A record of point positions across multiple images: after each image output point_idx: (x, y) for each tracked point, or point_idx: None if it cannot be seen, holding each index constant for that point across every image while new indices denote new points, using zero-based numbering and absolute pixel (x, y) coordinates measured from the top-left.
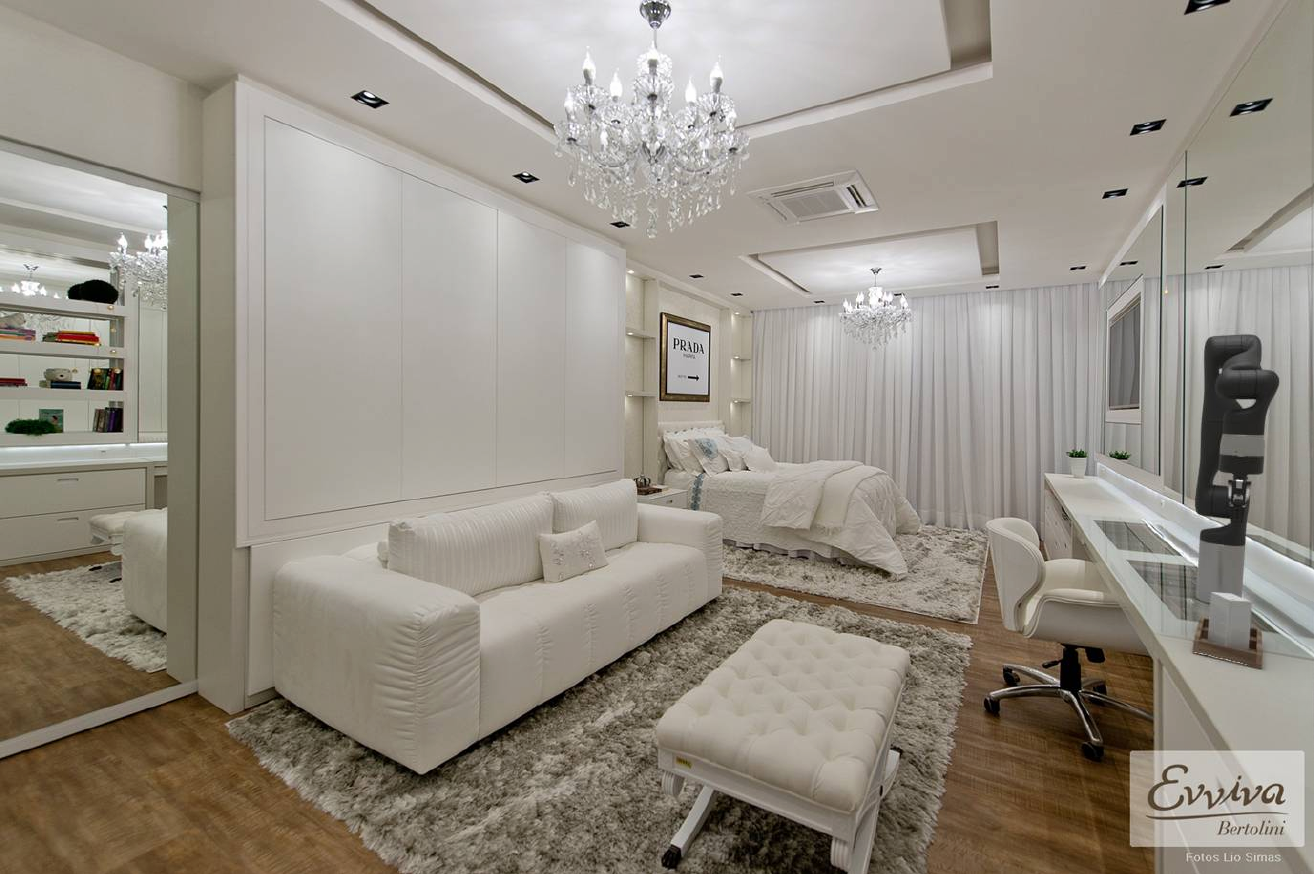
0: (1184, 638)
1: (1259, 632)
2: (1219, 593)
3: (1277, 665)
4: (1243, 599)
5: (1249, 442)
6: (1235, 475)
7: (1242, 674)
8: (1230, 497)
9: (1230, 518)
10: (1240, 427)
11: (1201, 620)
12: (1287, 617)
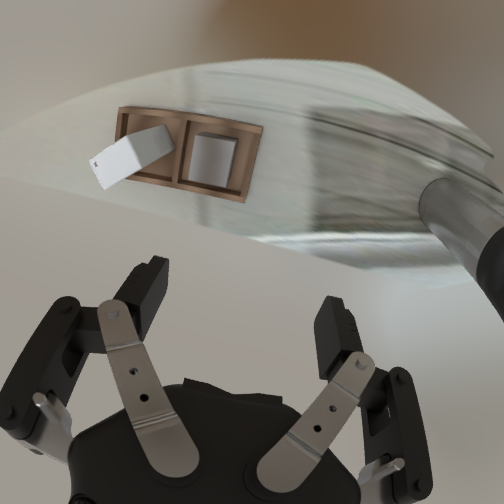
0: (191, 99)
1: (223, 196)
2: (123, 148)
3: (149, 190)
4: (108, 180)
5: None
6: (71, 497)
7: (92, 151)
8: (122, 345)
9: (149, 262)
10: None
11: (240, 126)
12: (397, 265)
